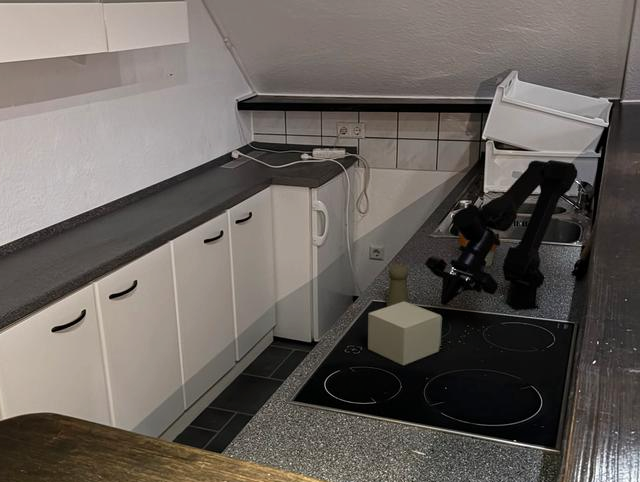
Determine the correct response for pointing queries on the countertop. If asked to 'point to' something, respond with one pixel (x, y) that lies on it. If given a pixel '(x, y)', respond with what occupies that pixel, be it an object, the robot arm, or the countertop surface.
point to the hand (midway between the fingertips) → (442, 304)
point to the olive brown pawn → (397, 285)
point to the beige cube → (403, 332)
